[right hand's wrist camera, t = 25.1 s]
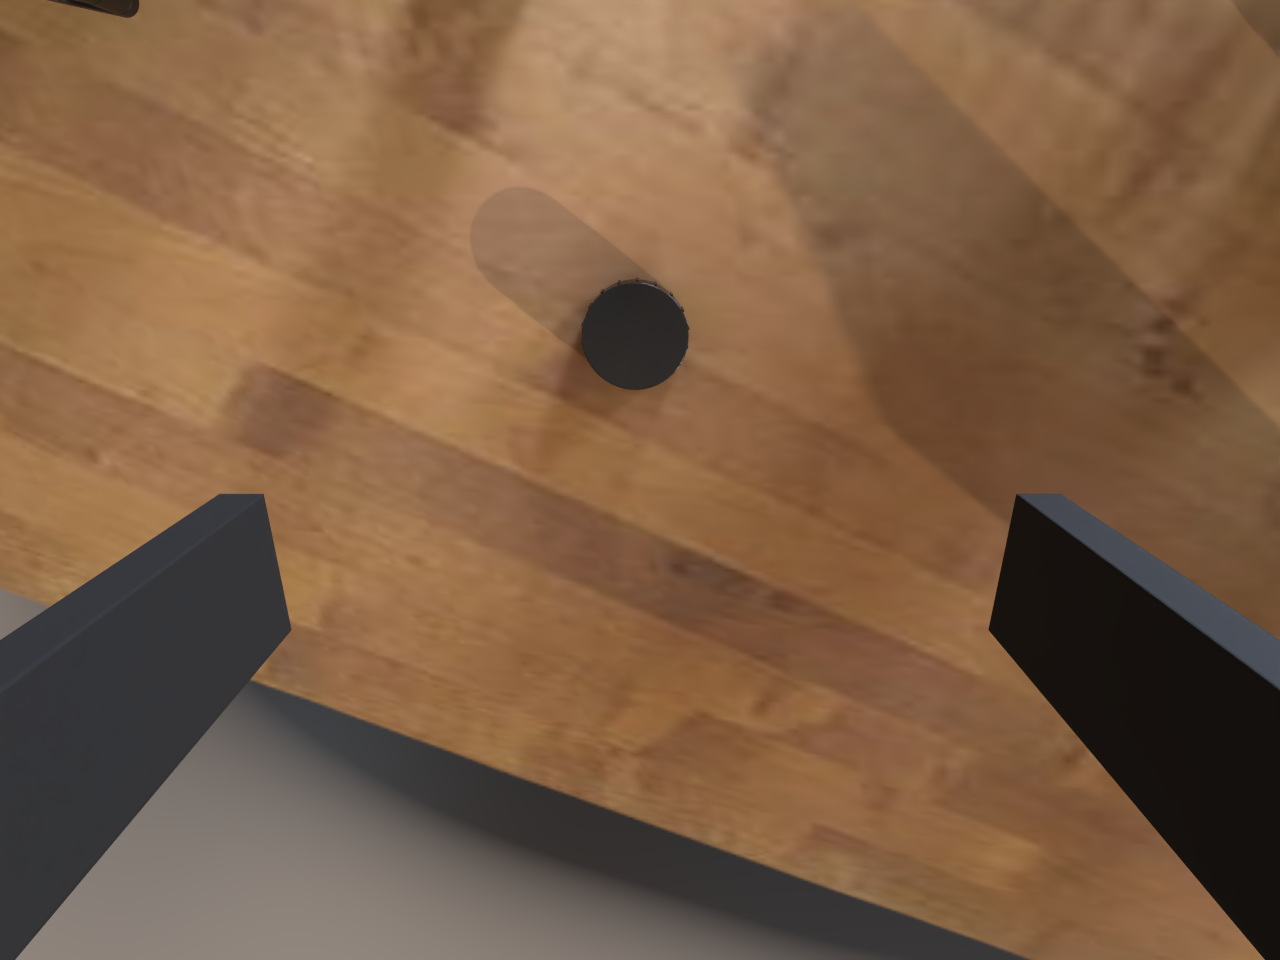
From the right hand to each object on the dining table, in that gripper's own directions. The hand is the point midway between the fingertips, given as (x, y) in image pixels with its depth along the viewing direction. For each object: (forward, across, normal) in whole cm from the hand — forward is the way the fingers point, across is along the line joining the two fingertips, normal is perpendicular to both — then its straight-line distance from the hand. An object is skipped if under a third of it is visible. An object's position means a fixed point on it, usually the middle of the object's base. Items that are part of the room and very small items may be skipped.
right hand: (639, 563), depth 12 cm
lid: (+25, 0, 0) cm, 25 cm away
